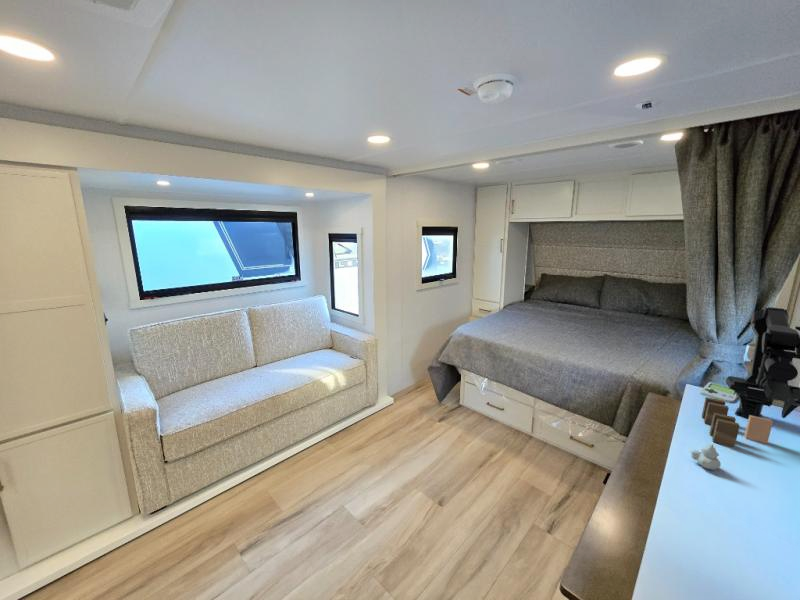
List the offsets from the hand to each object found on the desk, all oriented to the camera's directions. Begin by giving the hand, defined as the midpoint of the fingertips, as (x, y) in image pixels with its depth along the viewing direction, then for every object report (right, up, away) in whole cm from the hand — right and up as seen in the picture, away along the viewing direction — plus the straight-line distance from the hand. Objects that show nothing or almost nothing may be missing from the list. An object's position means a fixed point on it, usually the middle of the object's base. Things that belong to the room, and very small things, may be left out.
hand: (762, 413), depth 106 cm
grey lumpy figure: (-27, -13, -9) cm, 32 cm away
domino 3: (-10, -9, +4) cm, 14 cm away
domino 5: (0, -10, +2) cm, 10 cm away
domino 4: (-12, -10, +1) cm, 16 cm away
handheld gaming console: (+17, -3, +32) cm, 36 cm away
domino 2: (-6, -8, +10) cm, 14 cm away
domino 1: (-4, -7, +14) cm, 16 cm away
